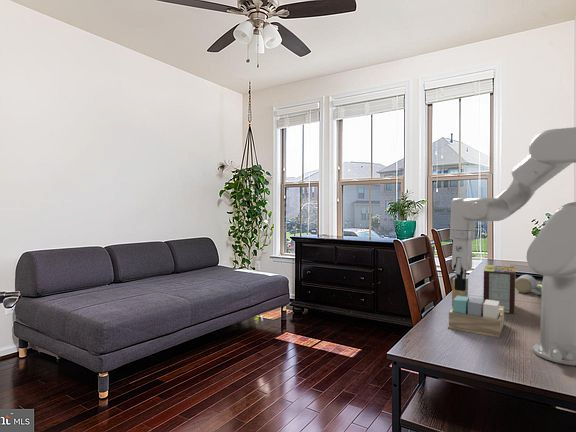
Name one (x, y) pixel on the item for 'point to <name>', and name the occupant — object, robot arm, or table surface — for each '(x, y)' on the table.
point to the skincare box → (457, 292)
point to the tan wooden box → (477, 323)
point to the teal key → (460, 304)
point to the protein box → (500, 286)
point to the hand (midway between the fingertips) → (460, 289)
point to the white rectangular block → (491, 309)
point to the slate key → (475, 307)
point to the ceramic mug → (527, 285)
